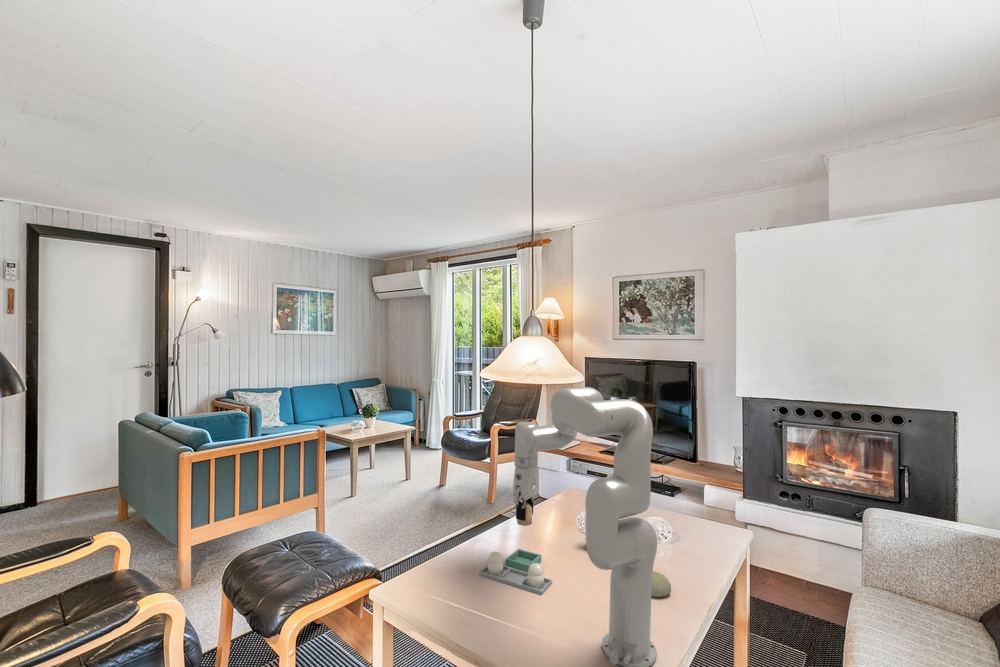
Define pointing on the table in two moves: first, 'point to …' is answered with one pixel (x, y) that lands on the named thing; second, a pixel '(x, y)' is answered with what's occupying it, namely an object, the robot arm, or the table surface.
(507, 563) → the egg holder
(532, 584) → the cream egg right
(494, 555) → the cream egg left
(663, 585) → the sea urchin shell
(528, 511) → the brown egg
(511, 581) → the egg carton
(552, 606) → the table surface
